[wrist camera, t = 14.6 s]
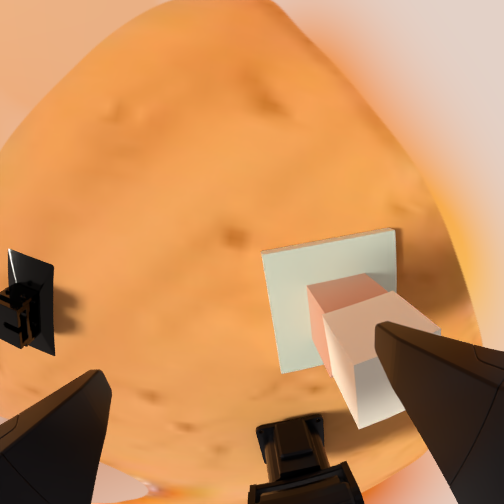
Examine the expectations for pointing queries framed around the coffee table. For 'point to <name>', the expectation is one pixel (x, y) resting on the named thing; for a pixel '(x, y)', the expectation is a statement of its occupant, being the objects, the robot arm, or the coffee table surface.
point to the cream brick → (368, 354)
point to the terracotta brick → (336, 304)
